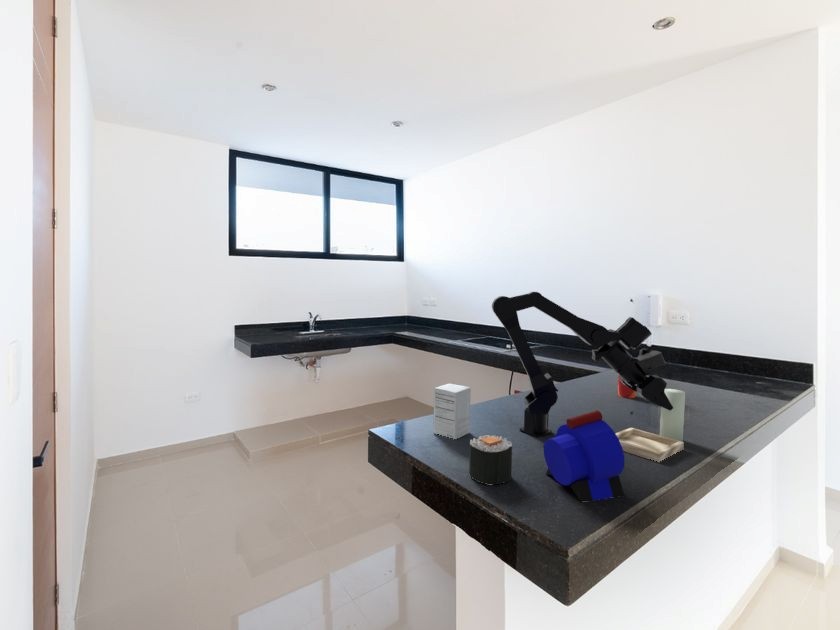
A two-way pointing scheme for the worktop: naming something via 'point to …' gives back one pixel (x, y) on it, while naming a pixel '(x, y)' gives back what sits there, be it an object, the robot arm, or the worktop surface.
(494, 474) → the sushi
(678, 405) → the sage post
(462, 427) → the supplement box
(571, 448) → the alarm clock
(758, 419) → the worktop surface
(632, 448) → the birch tray
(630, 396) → the paper cup
